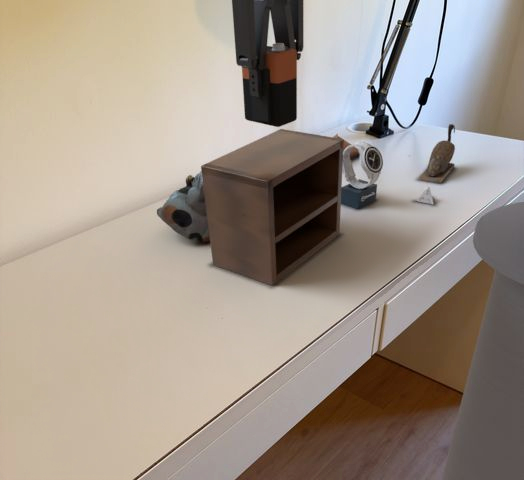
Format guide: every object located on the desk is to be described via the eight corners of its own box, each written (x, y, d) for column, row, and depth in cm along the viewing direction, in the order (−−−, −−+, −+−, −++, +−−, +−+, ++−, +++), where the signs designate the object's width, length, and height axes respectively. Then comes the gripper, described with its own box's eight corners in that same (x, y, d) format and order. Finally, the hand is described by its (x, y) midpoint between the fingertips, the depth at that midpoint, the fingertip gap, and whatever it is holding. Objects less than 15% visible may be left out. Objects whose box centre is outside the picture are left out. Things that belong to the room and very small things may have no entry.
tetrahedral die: (437, 204, 102) (441, 188, 101) (433, 204, 100) (437, 188, 98) (420, 200, 103) (424, 185, 102) (415, 201, 101) (419, 185, 100)
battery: (263, 113, 79) (260, 37, 73) (298, 120, 76) (298, 41, 69) (243, 120, 77) (238, 42, 71) (278, 128, 73) (276, 46, 67)
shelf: (339, 234, 92) (343, 139, 82) (272, 285, 80) (267, 181, 70) (283, 219, 98) (281, 128, 88) (212, 265, 86) (200, 165, 76)
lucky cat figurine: (197, 206, 104) (226, 142, 96) (240, 243, 101) (273, 180, 93) (142, 213, 92) (169, 140, 84) (189, 255, 89) (221, 184, 81)
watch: (365, 211, 99) (370, 152, 92) (333, 200, 103) (335, 143, 97) (384, 202, 101) (390, 144, 95) (351, 192, 106) (354, 135, 99)
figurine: (439, 158, 118) (445, 118, 113) (459, 161, 116) (467, 120, 111) (419, 180, 109) (425, 137, 104) (440, 183, 107) (448, 139, 102)
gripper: (283, -96, 68) (287, 98, 83) (190, -95, 57) (213, 128, 72) (333, -101, 65) (328, 103, 79) (243, -100, 54) (256, 136, 68)
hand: (273, 114), depth 76 cm, fingers closed on battery, 5 cm apart
